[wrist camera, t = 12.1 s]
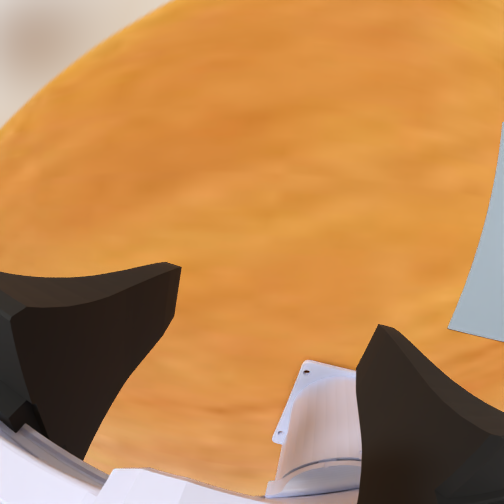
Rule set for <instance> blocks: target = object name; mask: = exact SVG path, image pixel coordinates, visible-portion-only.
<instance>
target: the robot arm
mask: <svg viewBox="0 0 504 504" xmlns="http://www.w3.org/2000/svg"><path fill="white" fill-rule="evenodd" d="M181 268H182V267H180V266H177V265H174V264H170V263H167V262H161V263H155V264H150V265H145V266H141V267H137V268H132V269H128V270H123V271H117V272H112V273H107V274H101V275H94V276H85V277H71V278H45V277H31V276H22V275H15V274H9V273H4V272H0V504H504V412H502V411H500V410H498V409H496V408H494V407H492V406H490V405H488V404H487V403H485V402H483V401H482V400H480V399H478V398H477V397H475V396H473V395H472V394H470V393H469V392H468V391H466V390H465V389H463V388H462V387H461V386H459V385H458V384H457V383H455V382H454V381H453V380H451V379H450V378H449V377H448V376H447V375H445V374H444V373H443V372H442V371H441V370H440V369H439V368H437V367H436V366H435V365H434V364H433V363H432V362H431V361H430V360H429V359H428V358H427V357H426V356H424V355H423V354H422V353H421V352H420V351H419V350H418V349H417V348H416V347H415V346H414V345H413V344H412V343H411V342H410V341H409V340H408V339H407V338H406V337H404V336H403V335H402V334H401V333H400V332H399V331H397V330H396V329H394V328H392V327H388V326H384V325H380V324H378V326H377V328H376V330H375V332H374V334H373V336H372V338H371V340H370V342H369V344H368V346H367V348H366V350H365V352H364V354H363V356H362V358H361V360H360V362H359V364H358V366H357V368H356V371H354V370H350V369H346V368H341V367H337V366H333V365H329V364H325V363H321V362H317V361H313V360H306V361H304V362H303V364H302V366H301V369H300V371H299V374H298V377H297V379H296V382H295V384H294V387H293V389H292V392H291V394H290V397H289V399H288V401H287V404H286V406H285V409H284V411H283V413H282V416H281V418H280V420H279V423H278V425H277V427H276V430H275V432H274V434H273V437H272V441H273V442H275V443H278V444H282V448H281V454H280V459H279V463H278V468H277V473H276V478H275V480H274V481H269V482H268V485H267V489H266V493H265V496H250V495H246V494H242V493H238V492H234V491H230V490H227V489H223V488H219V487H216V486H213V485H209V484H206V483H203V482H200V481H197V480H194V479H191V478H187V477H183V476H179V475H175V474H171V473H167V472H163V471H160V470H156V469H153V468H117V469H113V471H112V473H111V474H110V475H108V474H106V473H104V472H102V471H100V470H98V469H97V468H95V467H93V466H91V465H89V464H88V463H86V462H84V461H83V460H84V457H85V455H86V453H87V451H88V448H89V446H90V444H91V442H92V440H93V438H94V436H95V434H96V432H97V430H98V428H99V426H100V424H101V422H102V421H103V419H104V417H105V415H106V413H107V412H108V410H109V408H110V406H111V405H112V403H113V401H114V399H115V398H116V396H117V395H118V393H119V391H120V390H121V388H122V386H123V385H124V383H125V382H126V380H127V379H128V378H129V376H130V375H131V374H132V372H133V371H134V370H135V369H136V367H137V366H138V365H139V364H140V363H141V361H142V360H143V359H144V358H145V357H146V355H147V354H148V353H149V352H150V350H151V349H152V348H153V347H154V346H155V344H156V343H157V342H158V341H159V339H160V338H161V337H162V336H163V334H164V332H165V331H166V329H167V327H168V326H169V324H170V322H171V320H172V319H173V317H174V314H175V307H176V300H177V293H178V287H179V280H180V274H181ZM305 370H308V371H310V372H309V373H305V372H304V371H305ZM279 431H282V432H279Z"/></svg>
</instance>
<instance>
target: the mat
mask: <svg viewBox="0 0 504 504" xmlns="http://www.w3.org/2000/svg"><path fill="white" fill-rule="evenodd" d="M448 329H452V330H456V331H460V332H464V333H469V334H473V335H477V336H481V337H485V338H490V339H494V340H498V341H503V342H504V122H502V132H501V141H500V149H499V156H498V162H497V168H496V174H495V179H494V184H493V189H492V194H491V199H490V203H489V207H488V211H487V216H486V219H485V223H484V227H483V231H482V234H481V238H480V241H479V245H478V248H477V251H476V254H475V257H474V260H473V264H472V266H471V269H470V272H469V275H468V278H467V281H466V283H465V286H464V289H463V291H462V294H461V297H460V299H459V302H458V304H457V307H456V309H455V311H454V314H453V316H452V319H451V321H450V323H449V325H448Z"/></svg>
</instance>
